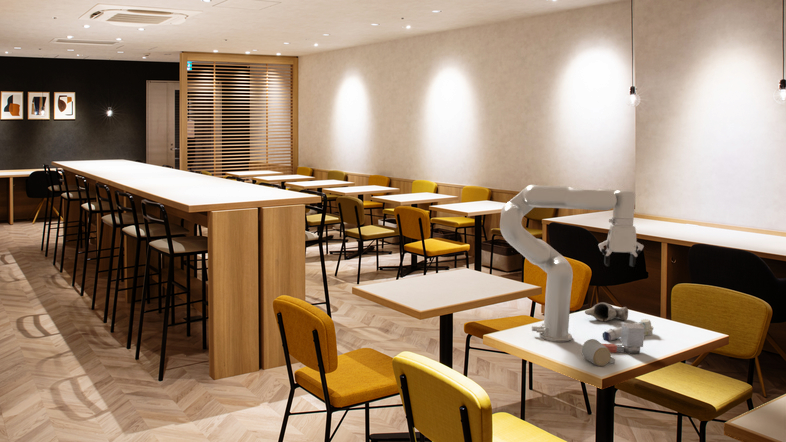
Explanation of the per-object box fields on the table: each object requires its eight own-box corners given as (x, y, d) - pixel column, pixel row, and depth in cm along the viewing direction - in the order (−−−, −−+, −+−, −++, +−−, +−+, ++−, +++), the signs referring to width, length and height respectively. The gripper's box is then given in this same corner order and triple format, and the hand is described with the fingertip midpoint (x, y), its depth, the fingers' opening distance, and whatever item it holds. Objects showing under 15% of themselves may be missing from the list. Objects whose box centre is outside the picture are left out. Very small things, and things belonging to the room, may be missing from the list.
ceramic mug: (593, 368, 208) (595, 346, 208) (580, 359, 216) (582, 339, 215) (620, 366, 211) (621, 345, 210) (606, 358, 219) (607, 337, 218)
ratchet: (605, 354, 223) (607, 333, 222) (599, 348, 229) (600, 327, 228) (642, 354, 223) (644, 333, 222) (635, 348, 229) (637, 328, 228)
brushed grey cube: (626, 346, 223) (628, 328, 222) (620, 341, 228) (621, 323, 228) (643, 346, 223) (644, 328, 222) (636, 341, 229) (637, 323, 228)
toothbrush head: (600, 329, 240) (645, 314, 251) (601, 345, 242) (646, 329, 252) (610, 333, 236) (656, 318, 246) (611, 349, 237) (656, 333, 247)
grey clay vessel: (598, 334, 272) (588, 323, 261) (591, 317, 278) (581, 305, 267) (633, 320, 267) (624, 309, 256) (625, 303, 272) (616, 291, 261)
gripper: (603, 223, 227) (600, 267, 230) (649, 224, 228) (645, 268, 230) (596, 220, 235) (593, 263, 237) (640, 221, 235) (637, 264, 237)
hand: (619, 266), depth 234 cm, fingers open, 9 cm apart
